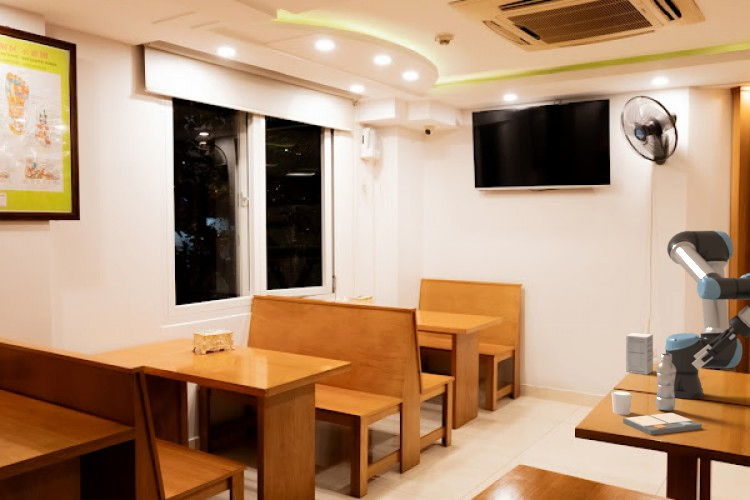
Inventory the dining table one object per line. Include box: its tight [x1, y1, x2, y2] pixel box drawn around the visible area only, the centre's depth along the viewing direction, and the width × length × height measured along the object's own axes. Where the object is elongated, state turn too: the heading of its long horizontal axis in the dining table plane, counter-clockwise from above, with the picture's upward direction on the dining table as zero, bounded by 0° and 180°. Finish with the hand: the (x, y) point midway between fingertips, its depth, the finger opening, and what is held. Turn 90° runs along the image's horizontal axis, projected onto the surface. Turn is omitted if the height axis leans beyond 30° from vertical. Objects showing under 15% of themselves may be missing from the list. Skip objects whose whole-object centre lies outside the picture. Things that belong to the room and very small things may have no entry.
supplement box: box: [625, 332, 654, 375], centre depth 286 cm, size 10×9×17 cm
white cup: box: [610, 390, 633, 416], centre depth 224 cm, size 7×7×7 cm
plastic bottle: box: [655, 353, 677, 412], centre depth 226 cm, size 6×7×20 cm
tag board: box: [622, 412, 703, 436], centre depth 209 cm, size 20×13×2 cm, turn 107°
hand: (695, 362), depth 220 cm, fingers open, 13 cm apart
